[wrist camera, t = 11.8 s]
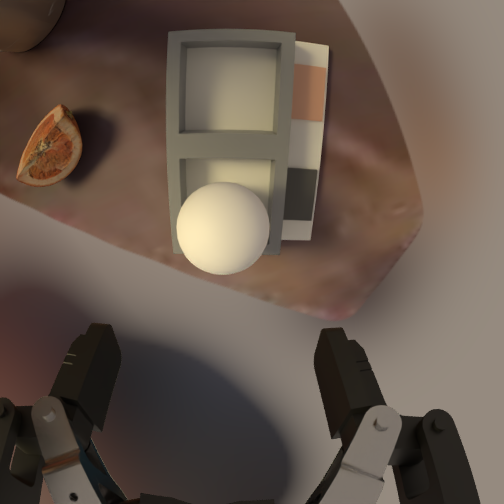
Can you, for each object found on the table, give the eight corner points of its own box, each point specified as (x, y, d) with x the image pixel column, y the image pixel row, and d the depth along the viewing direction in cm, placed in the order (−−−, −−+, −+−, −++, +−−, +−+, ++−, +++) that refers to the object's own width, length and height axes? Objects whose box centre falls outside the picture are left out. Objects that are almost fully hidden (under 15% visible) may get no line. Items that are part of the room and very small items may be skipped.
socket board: (180, 234, 29) (173, 253, 26) (178, 40, 20) (168, 31, 16) (308, 236, 30) (317, 255, 26) (326, 47, 20) (340, 40, 17)
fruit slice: (73, 89, 21) (45, 91, 16) (109, 137, 24) (85, 146, 19) (28, 146, 23) (0, 157, 18) (60, 190, 26) (35, 207, 21)
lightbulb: (246, 151, 25) (259, 183, 15) (265, 213, 27) (286, 277, 18) (181, 172, 25) (152, 219, 15) (203, 231, 28) (192, 304, 18)
